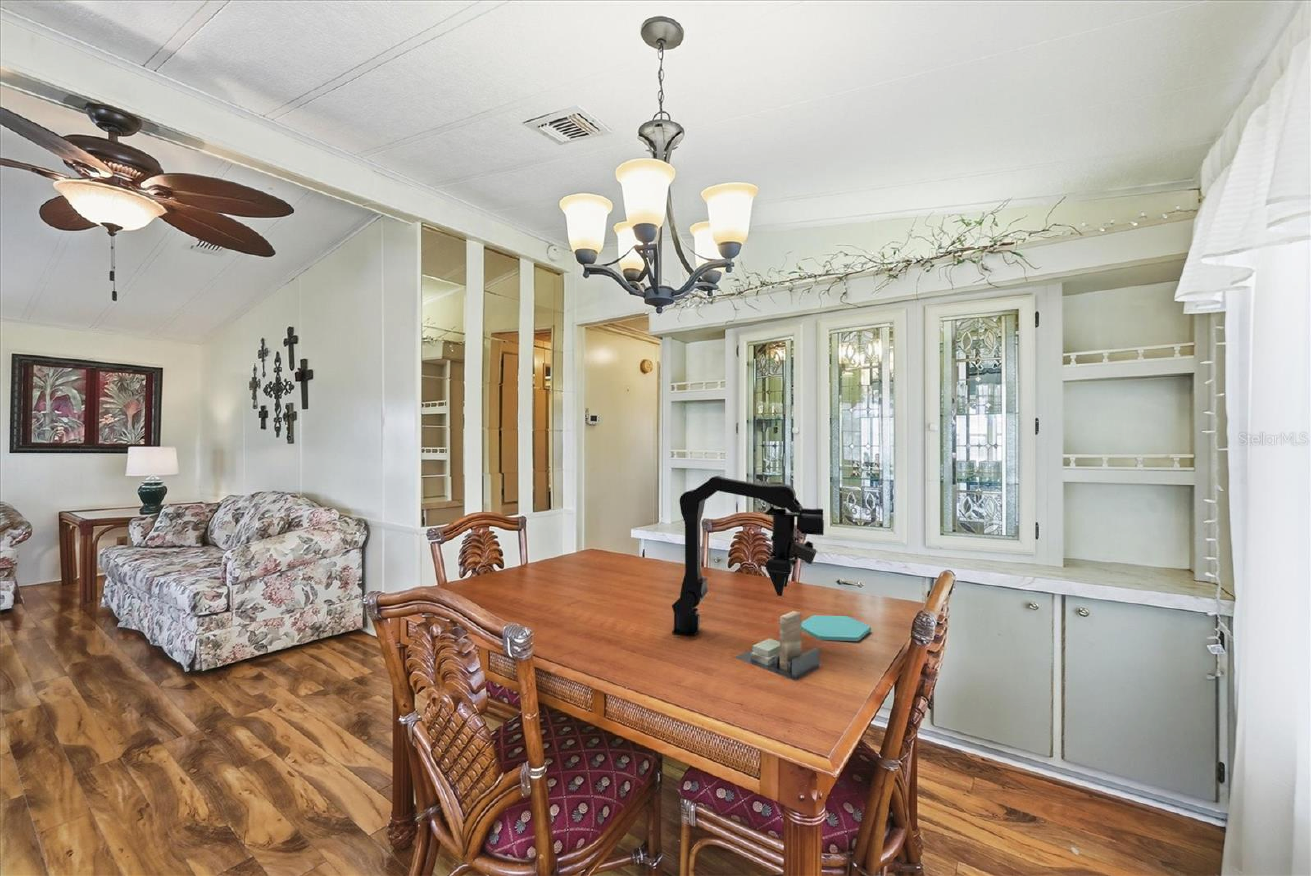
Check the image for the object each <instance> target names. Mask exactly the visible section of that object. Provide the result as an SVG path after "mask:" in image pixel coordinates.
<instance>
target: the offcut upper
mask: <svg viewBox="0 0 1311 876" xmlns="http://www.w3.org/2000/svg"><path fill="white" fill-rule="evenodd" d="M752 649H753V652H755V653H757V654H760V655H763V656H766V657H770V656H772V655H774V654H776V653H778V652H780V640H776V639H772V638H770V637H769V638H767V639H765V640H763V641H760V642H758V643H756V644H753V645H752Z"/></svg>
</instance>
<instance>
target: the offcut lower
mask: <svg viewBox="0 0 1311 876" xmlns="http://www.w3.org/2000/svg"><path fill="white" fill-rule="evenodd" d="M778 654H780V652H778V653H776V654H774V655H772V656H770V657H766V656H763V655H760V654H757V653H755V652H752V653H751V660H754V661H757V662H759V663H762V664H765V665H767V666H769V665H771V664H773V663H774V656H776V655H778Z"/></svg>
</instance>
